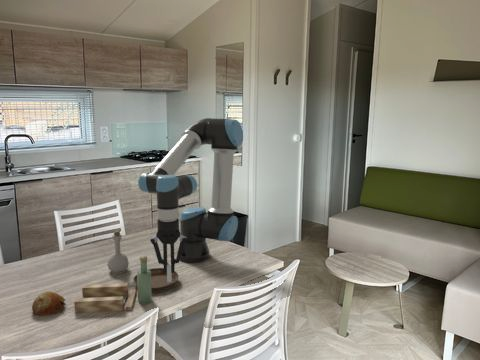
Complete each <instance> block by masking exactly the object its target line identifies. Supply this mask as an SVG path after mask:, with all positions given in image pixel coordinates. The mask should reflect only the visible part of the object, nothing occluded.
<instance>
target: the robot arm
mask: <svg viewBox="0 0 480 360" xmlns="http://www.w3.org/2000/svg"><path fill="white" fill-rule="evenodd" d="M243 141H244V130H243V127H242V124H241V123H240V121H238V120H237V119H232V118H212V117H207V118H202V119H199V120H198V121H196V122H193V124H190V125H189V126H188V127H187V128H186V129H185V130H184V131H183V132H182V134H181V138H180V140H178V141H177V142H176V144H175V145H174V146H172V148H171V149H170V150H169V152H168V153H167V154H166V155H165V156H164V157H163V158H162V159H161V161H160V162H159V163H158V164H157V165H156V166H155V168H154V169H152V171H151V172H143V173H141V174H140V176H139V177H138V181H137V182H138V183H137V184H138V188H139V190H140V191H141V192H144V193H148V194H155V195H156V201H157V202H156V214H157V215H156V216H157V217H156V218H157V232H156V234H155V235H154V236H151V237H150V240H149V241H150V242H151V244H152V245H153V248H154V253H155V255H156V259H157V262H158V264H160V265H163V268H164V273H167V282H171V281H172V273H174V271H175V272H176V270H175V265H176V264H179V263H180V261H181V262H184V263H189V264H190V263H193V264H194V263H195V264H196V263H200V262H205V261H206V260H208V259H210V254H211V253H210V248H209V246H208V244H207V239H209V240H213V241H220V242H230V241H231V240H233V238H234V237H235V235H236V233H237V230H238V226H239V225H238V224H239V221H238V217H237V216H236V215H234V210H233V209H232V207H231V206H232V205H231V204H232V203H231V202H232V189H233V188H232V186H233V173H234V170H233V169H234V158H235V157H234V156H235V153H236V152H237V151H238V147H241V146H242V144H243ZM203 145H211V146H210V147H211V148H210V149H211V151H212V152H213V153H214V155H213V173H212V187H211V188H212V189H211V190H212V191H211V206H210V207H209V208H208V209H206V208H205V207H200V206H198V207H197V206H195V207H190V208H186V209H183V210H182V211H181V212H179V210H180V209H179V208H180V207H179V206H180V205H179V200H180V199H183V198H186V197H188V196H191V195H192V194H194V193H195V192H196V191H197V190H198V189H197V188H198V182H197V179H196V178H195V177H194V176H192V175H190V174H188V175H185V174H184V175H182V176H181V175H179V176H177V175H175V174H176V173H177V172H178V170H180V168H181V167H182V166H183V165H184V163H186V161H187V160H188V159H189V158H190V156H192V154H193V152H194V151H195V150H197V149H200V148H201V146H203ZM179 213H180V214H179ZM179 215H180V216H179ZM179 217H180V218H179ZM178 240H179V245H178V249H177V254H176V258H175V243H176V242H177V241H178ZM158 241H159V242H161V244H162V248H163V254H161V250H160V246H159V243H158ZM168 245H170V246H169V247H170V262H168ZM162 255H163V257H162Z"/></svg>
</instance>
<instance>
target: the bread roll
mask: <svg viewBox="0 0 480 360" xmlns="http://www.w3.org/2000/svg"><path fill="white" fill-rule="evenodd" d="M65 301H66V299H65V298H64V296H62V295H60V294H58V292H57V293H56V292H54V291H50V290H49V291H47V290H46V291H44V292H42V293H40V294H38V296H37V297H35V299H34V300H33V303H32V306H31V310H32V313H33V314H34V315H35V316H41V317H43V316H45V317H46V316H50V315H54V314H57V313H59V312H61V311H62V310H63V309H64V307H65V306H66V304H67V303H65Z"/></svg>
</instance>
